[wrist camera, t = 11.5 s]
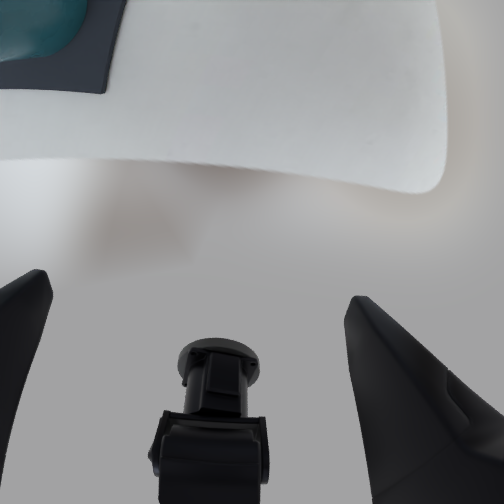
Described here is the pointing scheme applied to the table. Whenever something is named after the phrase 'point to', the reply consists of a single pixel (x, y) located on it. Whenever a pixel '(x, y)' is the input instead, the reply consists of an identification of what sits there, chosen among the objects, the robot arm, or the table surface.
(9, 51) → the can
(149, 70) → the table surface
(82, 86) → the mat
